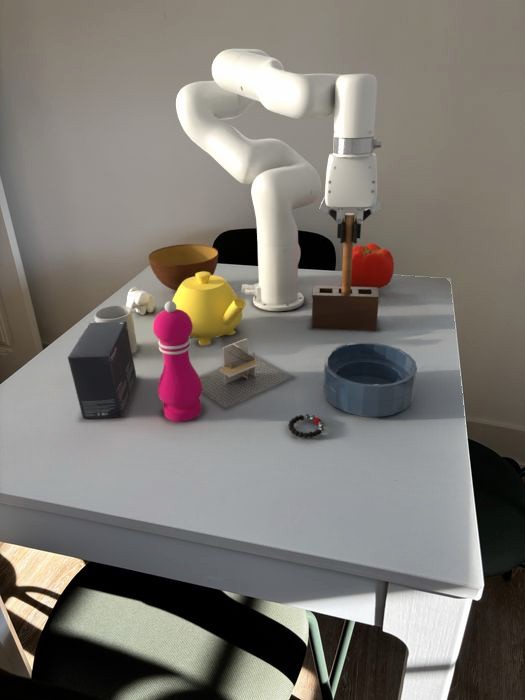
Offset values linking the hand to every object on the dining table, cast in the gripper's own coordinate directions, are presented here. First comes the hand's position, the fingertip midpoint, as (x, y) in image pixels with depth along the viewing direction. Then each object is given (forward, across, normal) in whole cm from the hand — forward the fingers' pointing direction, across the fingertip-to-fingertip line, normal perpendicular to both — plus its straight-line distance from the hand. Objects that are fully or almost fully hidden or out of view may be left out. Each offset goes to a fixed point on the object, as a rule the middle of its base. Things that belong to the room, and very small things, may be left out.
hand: (348, 240), depth 108 cm
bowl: (+19, +41, -18) cm, 49 cm away
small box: (+19, +41, +34) cm, 57 cm away
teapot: (+19, +28, +8) cm, 35 cm away
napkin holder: (+19, +19, +26) cm, 38 cm away
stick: (+12, 0, 0) cm, 12 cm away
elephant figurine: (+19, +48, -3) cm, 52 cm away
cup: (+19, +47, +18) cm, 54 cm away
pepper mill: (+19, +27, +37) cm, 50 cm away
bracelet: (+19, +6, +40) cm, 45 cm away
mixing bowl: (+19, -4, +29) cm, 35 cm away
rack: (+19, 0, 0) cm, 19 cm away
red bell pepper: (+19, -6, -24) cm, 31 cm away
